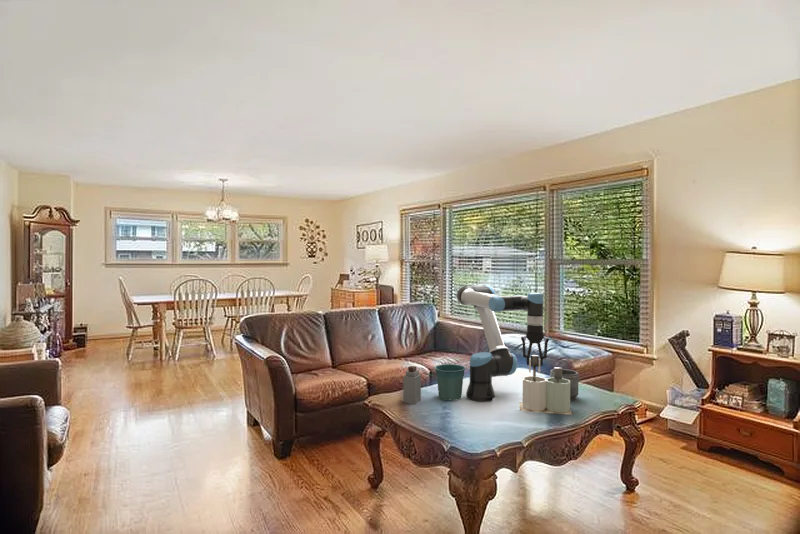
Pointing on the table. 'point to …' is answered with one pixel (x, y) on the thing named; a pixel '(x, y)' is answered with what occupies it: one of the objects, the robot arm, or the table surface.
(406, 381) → the perfume bottle
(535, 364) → the press plunger
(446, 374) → the flower pot
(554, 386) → the sage press
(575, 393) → the planter
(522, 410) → the board
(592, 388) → the table surface
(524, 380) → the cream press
